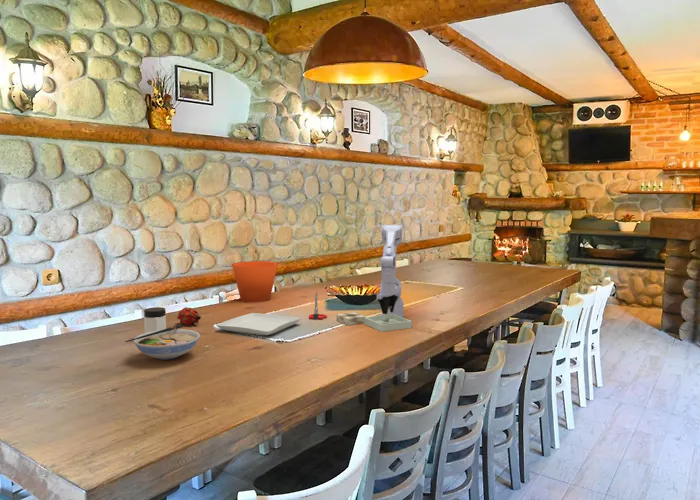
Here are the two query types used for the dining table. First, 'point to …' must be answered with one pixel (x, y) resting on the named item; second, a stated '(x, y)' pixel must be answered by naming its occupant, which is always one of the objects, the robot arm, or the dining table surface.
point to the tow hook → (316, 311)
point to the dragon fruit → (188, 316)
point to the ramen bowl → (166, 342)
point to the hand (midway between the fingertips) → (387, 312)
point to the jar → (154, 319)
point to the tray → (388, 323)
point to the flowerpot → (255, 279)
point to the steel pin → (386, 315)
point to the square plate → (258, 323)
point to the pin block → (350, 318)
